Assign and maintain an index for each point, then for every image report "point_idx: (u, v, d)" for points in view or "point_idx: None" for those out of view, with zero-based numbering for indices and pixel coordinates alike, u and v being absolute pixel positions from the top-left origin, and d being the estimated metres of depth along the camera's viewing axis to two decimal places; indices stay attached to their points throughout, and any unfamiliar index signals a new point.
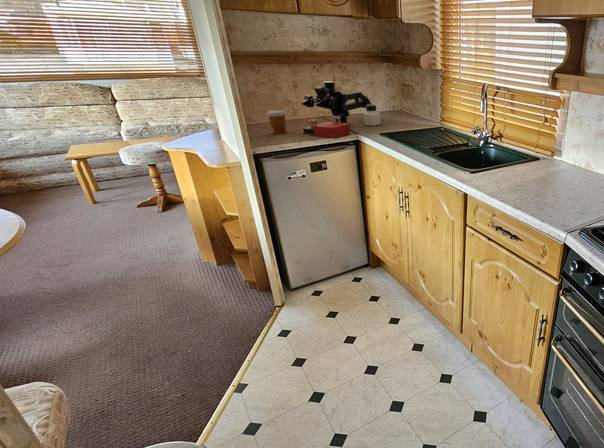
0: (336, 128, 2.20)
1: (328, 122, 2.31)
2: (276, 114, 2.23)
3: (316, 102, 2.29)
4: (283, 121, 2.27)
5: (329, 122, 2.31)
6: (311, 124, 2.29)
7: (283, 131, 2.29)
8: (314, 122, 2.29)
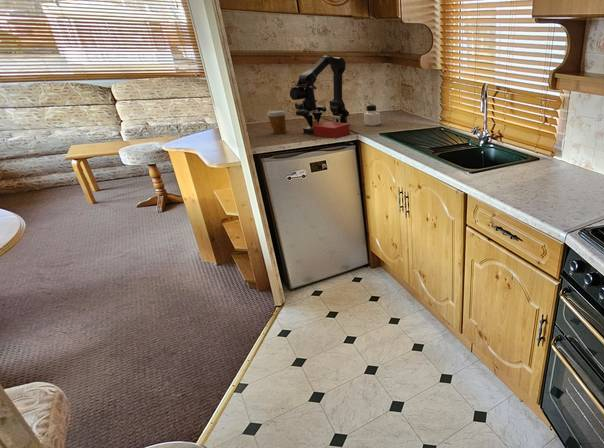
0: (336, 128, 2.20)
1: (328, 122, 2.31)
2: (276, 114, 2.23)
3: (314, 111, 2.30)
4: (283, 121, 2.27)
5: (329, 122, 2.31)
6: None
7: (283, 131, 2.29)
8: (314, 122, 2.29)
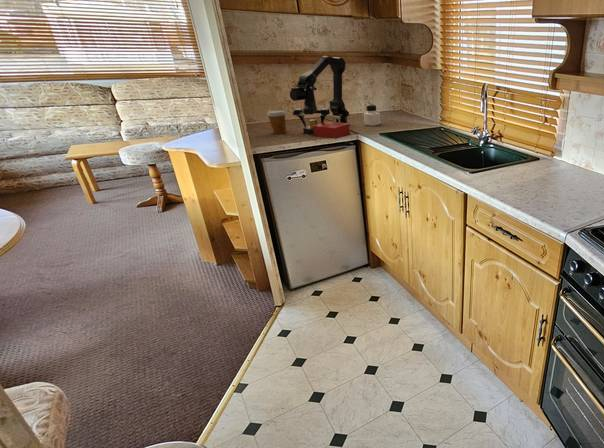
0: (336, 128, 2.20)
1: (328, 122, 2.31)
2: (276, 114, 2.23)
3: None
4: (283, 121, 2.27)
5: (329, 122, 2.31)
6: (317, 123, 2.32)
7: (283, 131, 2.29)
8: None
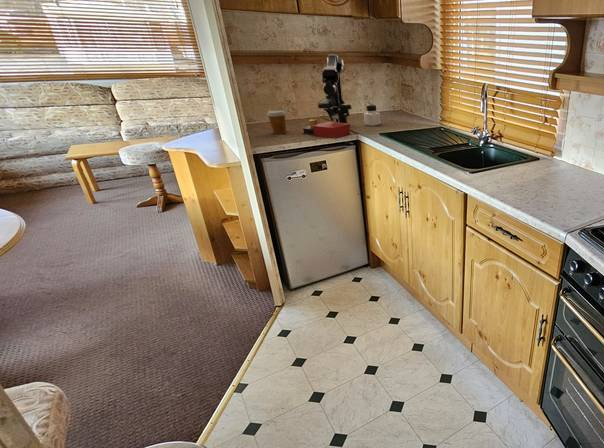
0: (336, 128, 2.20)
1: (328, 122, 2.31)
2: (276, 114, 2.23)
3: None
4: (283, 121, 2.27)
5: (329, 122, 2.31)
6: (317, 123, 2.32)
7: (283, 131, 2.29)
8: None
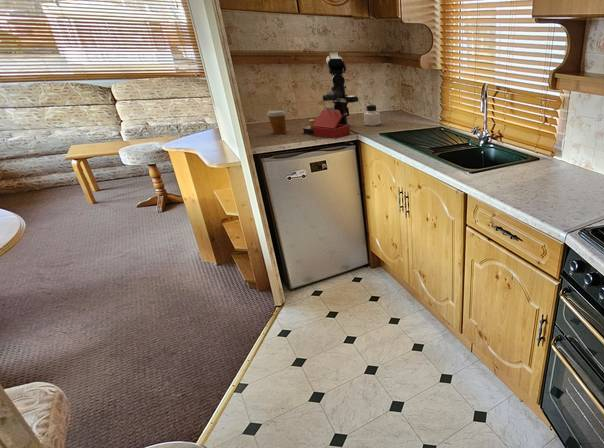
0: None
1: (324, 112, 2.27)
2: (276, 114, 2.23)
3: None
4: (283, 121, 2.27)
5: (325, 111, 2.27)
6: None
7: (283, 131, 2.29)
8: None
